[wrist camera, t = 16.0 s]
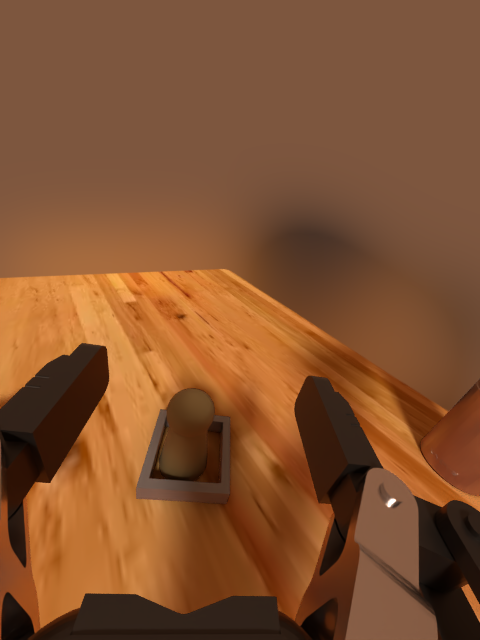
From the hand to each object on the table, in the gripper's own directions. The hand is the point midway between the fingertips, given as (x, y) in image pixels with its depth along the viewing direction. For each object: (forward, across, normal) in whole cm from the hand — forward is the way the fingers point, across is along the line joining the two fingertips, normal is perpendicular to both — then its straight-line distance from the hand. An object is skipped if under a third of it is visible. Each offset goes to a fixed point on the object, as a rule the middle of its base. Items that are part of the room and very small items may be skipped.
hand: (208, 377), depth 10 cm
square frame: (+11, 0, +25) cm, 27 cm away
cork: (+11, +1, +25) cm, 27 cm away
